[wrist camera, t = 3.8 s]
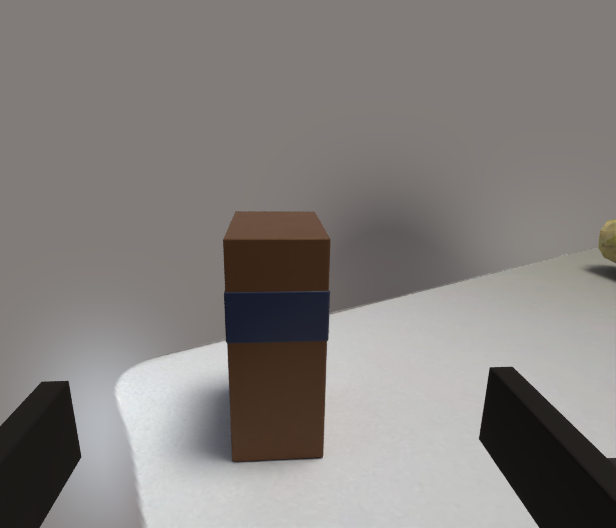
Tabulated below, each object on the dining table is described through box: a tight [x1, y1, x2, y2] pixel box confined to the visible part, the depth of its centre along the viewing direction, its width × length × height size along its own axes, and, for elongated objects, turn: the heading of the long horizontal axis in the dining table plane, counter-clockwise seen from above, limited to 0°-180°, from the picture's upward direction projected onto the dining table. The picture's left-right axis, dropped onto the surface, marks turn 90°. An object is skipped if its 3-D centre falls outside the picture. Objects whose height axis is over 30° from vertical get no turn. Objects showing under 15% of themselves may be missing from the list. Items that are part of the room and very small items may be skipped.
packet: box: [223, 212, 330, 461], centre depth 22 cm, size 6×4×11 cm
